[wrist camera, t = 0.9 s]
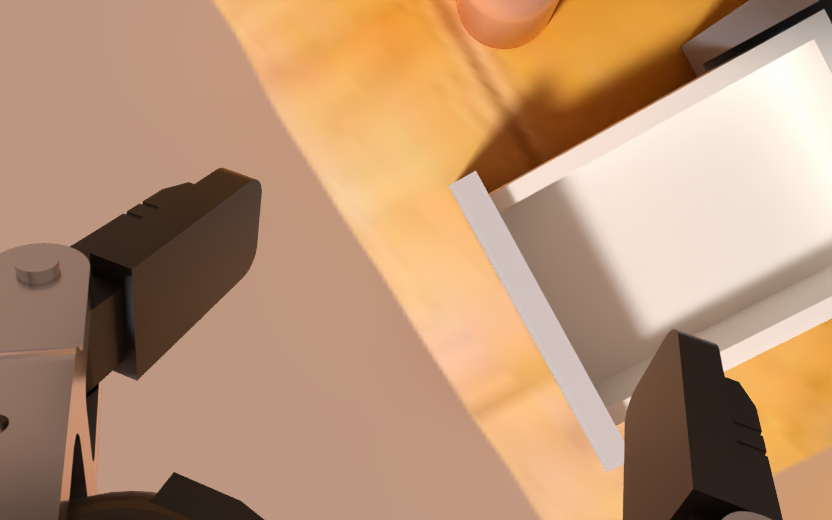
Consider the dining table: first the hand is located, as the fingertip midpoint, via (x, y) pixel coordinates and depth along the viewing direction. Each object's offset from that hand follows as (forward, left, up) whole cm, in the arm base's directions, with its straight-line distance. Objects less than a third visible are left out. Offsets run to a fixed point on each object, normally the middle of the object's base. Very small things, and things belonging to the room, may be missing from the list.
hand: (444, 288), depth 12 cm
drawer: (+5, +9, -19) cm, 21 cm away
